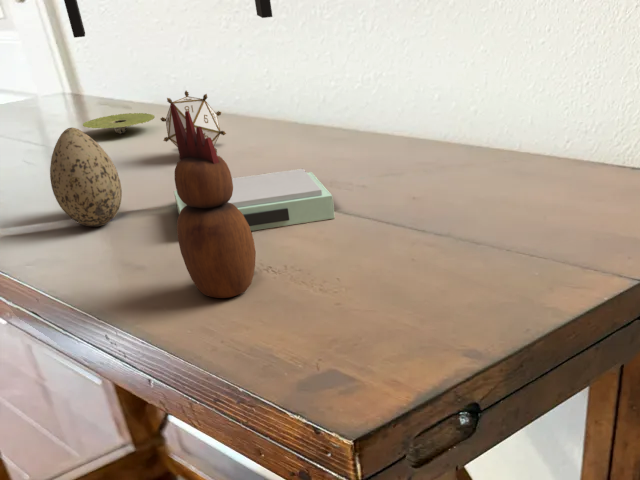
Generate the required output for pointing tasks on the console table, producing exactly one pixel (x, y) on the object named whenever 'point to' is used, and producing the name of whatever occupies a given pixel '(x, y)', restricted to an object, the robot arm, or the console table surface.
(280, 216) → the kitchen scale
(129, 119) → the olive green flat disc
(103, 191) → the decorative egg
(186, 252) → the wooden figurine
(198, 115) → the game die
